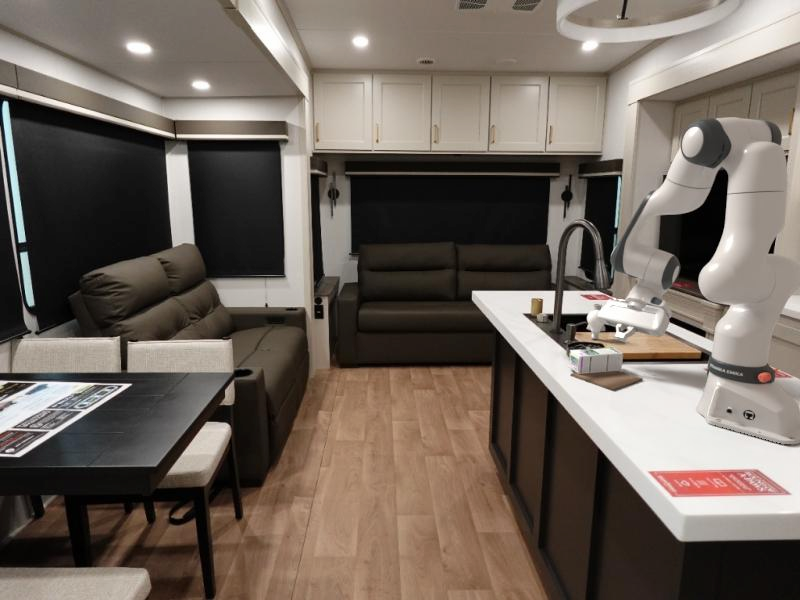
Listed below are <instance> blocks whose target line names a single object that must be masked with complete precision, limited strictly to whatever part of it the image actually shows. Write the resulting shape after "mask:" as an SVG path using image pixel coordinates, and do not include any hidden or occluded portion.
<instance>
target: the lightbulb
mask: <svg viewBox="0 0 800 600" xmlns="http://www.w3.org/2000/svg"><path fill="white" fill-rule="evenodd" d="M599 311H600V310H594V309H593V310H591V311H590V312H589V313H587V316H586V321H587V323H588V324H589V325H590V328H591V333H590V335H591V336H590V338H591V339H592V340H594V339H596V340H598V339H599V338H600V337H599V335H600V332H601V331H600V329H601V327H602V326H603V325H604V326H605V324H603V323H601V322H600V321H599V319H598V316H597V314H598V313H599Z"/></svg>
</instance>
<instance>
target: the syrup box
mask: <svg viewBox="0 0 800 600" xmlns="http://www.w3.org/2000/svg"><path fill="white" fill-rule="evenodd" d="M623 358H624V352H621V351H620V350H618V349H616V348H614V347H612V346H611V347H609V346H608V347H597V348H595V347H594V348H584V349H582V348H581V349H570V350H569V353H568V368H569V369H571V370H572V371H573V372H574V373H575V372H576V373H578V374H586V373H599V372H611V371H621V372H622V367H623V361H624V360H623Z"/></svg>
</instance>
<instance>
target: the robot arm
mask: <svg viewBox="0 0 800 600" xmlns="http://www.w3.org/2000/svg"><path fill="white" fill-rule="evenodd" d="M782 140H783V137H782V132H781V129H780V127H779V126H778V125H777V123H774V122H772V121H770V120H765V119H761V118H758V119H753V118H752V119H750V118H743V117H741V118H740V117H736V116H732V117H717V118H713V117H707V118H702V119H699V120H696V121H694V122H692V123H691V124H689V125H688V126H687V127H686V128H685V130H684V132H683V134H682V137H681V140H680V147H679V149H678V151H677V152H676V154H675V156H674V158H673V160H672V162H671V164H670V167H669V169H668V172H667V175H666V177H665V179H664V181H663V183H662V184H661V186H659V188H658V189H655V190H651V191H649V192H648V193H647V194H646V196H645V197H643V200H642V201H641V202H640V204H639V206H638V207H637V209H636V212H635V213H634V214H633V216H632V218H631V220H630V222H629V223H628V226H627V228H626V229H625V231H624V233H623V235H622V236H621V238H620V240H619V241H618V243H617V244H616V246H615V247H614V248H613V250H612V252H611V254H610V259H609V261H610V265H611V266H612V268H613V269H614V271H616V272H617V273H622V274H626V275H630V276H633V277H635V278H637V279H638V280H637V283H636V284H635V285H634V286H633V287H632V288H631V290H630V291H629V293H628V295H627V296H626V298H625V299H624V298H619V297H613V298H611V299H608V300H607V301H606V303H605V304H604V305H602V307H601V310H600V311H599V313H598V314H597V316H598V319H599V321H600V322H601V323H603V324H604V325H607V326H612V327H614V328H615V331H616V332H615V334H614V335H613V338H614V340H616V341H621V342H624V343H625V342H626V341H627V339H628V338H630V337H632V336H633V335H635V334H636V333H640V334H645V335H649V336H653V337H657V338H661V337H662V336H664V335H665V333H666V332H667V330H668V327H669V325H670V318H672V316H673V312H672V309H671V307H670V305H669V304H668V302H667V301H666V300H664V299H663V296H664V295H665V294H666V293H668V290H669V289H670V288H673V286H674V284H675V282H676V280H677V279H678V277H679V275H680V272H681V264H680V261H679V258H678V257H677V256H676V254H672V253H670V252H668V251H665V250H662V249H659V248H658V249H657V248H655V247H652V246H648V245H646V244H643V243H642V242H640V241H639V240H640V237H641V236H642V234H643V232H644V230H645V228H646V227H647V224H648V222H649V221H650V220H651V218H654V217H656V216H657V217H658V216H667V215H669V216H670V215H682V214H686V213H690V212H693V211H695V210H697V209H698V208H700V207H701V206H702V205H703V204H704V203H705V201H706V200H707V197H708V196H709V194H710V192H711V190H712V187H713V184H714V182H715V180H716V176H717V174H718V172H719V170H720V169H721V168H722V169H724V170H725V171H726V173H727V175H728V179H727V180H728V181H727V193H726V194H727V195H726V208H725V219H724V228H723V232H722V235H721V238H720V241H719V243H718V246H717V248H716V251H715V253H714V254H713V256H712V257H711V259H710V260H709V262H707V263H706V264H705V265H704V266H703V267H702V269H701V271H700V272H699V275H698V278H697V279H698V287H699V291H700V293H701V294H702V295H703V297H704V298H705V299H706V300H708V301H710V302H712V303H716V304H720V305H728V306H729V308H728V310H727V312H726V313H725V315H723V316H722V318H720V319H719V320H718V321H717V323H716V325H715V329H714V335H713V342H712V343H713V344H712V349H711V354H709V358H708V361H707V369H706V375H707V378H706V382H705V386H704V390H703V392H702V395H701V397H700V400H699V402H698V403H697V406H696V410H697V412H698V413H699V414H700V415H701V416H702V417H704V418H705V421H706V422H707V423H708V424H709V425H712V426H715V425H716V427H720V428H722V427H723V428H722V429H726V428H727V429H726V430H729V429H731V430H730V431H733V430H734V432H737V433H740V432H741V434H744V433H745V435H747V434H748V436H751V435H752V437H754V436H756V437H755V438H758V437H759V439H761V438H762V440H765V439H766V441H768V440H769V441H768V442H772V441H773V443H776V442H777V443H776V444H779V443H781V444H780V445H784V444H791V445H797V444H800V405H799V403H798V402H797V401H796V400H794V398H793V397H792V396H790V395H789V394H788V392H786V391H785V390H784V389H783V388H782V387H781V386H779V385H778V383H776V382H775V379H776V375H777V374H778V373H779V372H778V371H779V368H775V369H773V368H772V367H771V366H770V364H769V363H768V359H769V353H770V348H771V342H772V336H773V334H774V333H773V332H774V329H775V327H776V324H777V323H778V321H779V318H780V316H781V314H782V312H783V310H784V308H785V306H786V305H787V302H788V301H789V299H790V298H791V297H792V296H793V295H794V294H795V293H796V292H797V291H798V290H799V288H800V264H799V263H798V262H797V261H795V260H794V259H792V258H791V257H786V256H784V255H779V254H775V253H769V252H770V249H771V246H772V244H773V243H774V241H775V239H776V238H777V236H779V234H780V233H781V232H782V231H783V229H784V228H785V224H786V223H785V221H786V209H787V197H788V192H787V191H788V166H787V165H788V164H787V158H786V152H785V149H784V148H783V147H782V142H783V141H782ZM624 330H626V331H625V332H624ZM622 332H623V333H622Z"/></svg>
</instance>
